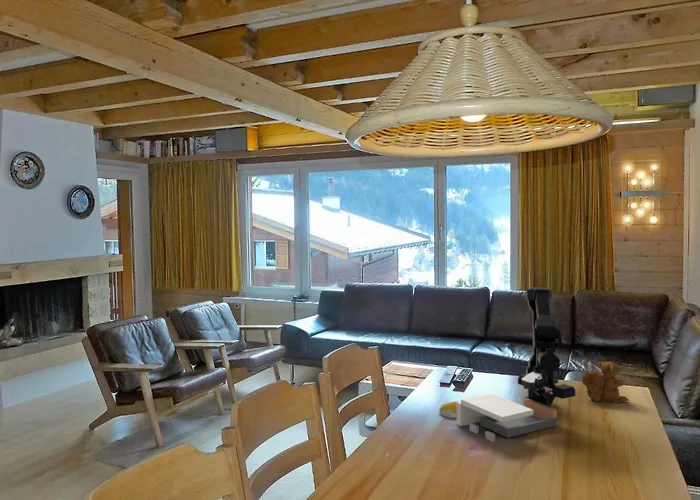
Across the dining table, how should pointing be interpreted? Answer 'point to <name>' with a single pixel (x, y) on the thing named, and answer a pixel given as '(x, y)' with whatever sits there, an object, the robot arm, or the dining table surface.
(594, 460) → the dining table surface
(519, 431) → the tray
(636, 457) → the dining table surface
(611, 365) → the stuffed squirrel
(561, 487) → the dining table surface
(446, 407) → the bread roll
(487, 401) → the overhang shelf
